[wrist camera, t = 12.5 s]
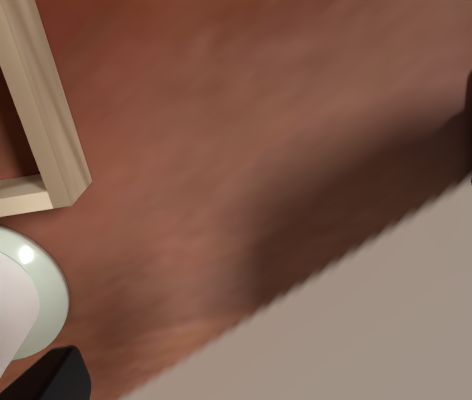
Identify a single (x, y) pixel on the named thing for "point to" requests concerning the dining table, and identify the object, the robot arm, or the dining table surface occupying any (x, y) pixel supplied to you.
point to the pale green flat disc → (39, 289)
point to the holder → (38, 116)
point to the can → (15, 308)
